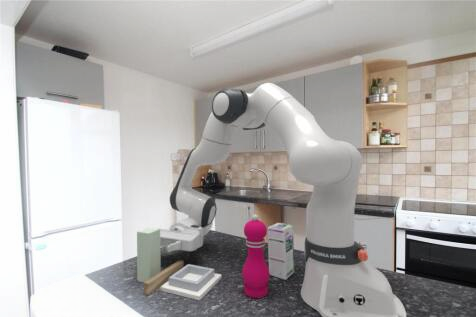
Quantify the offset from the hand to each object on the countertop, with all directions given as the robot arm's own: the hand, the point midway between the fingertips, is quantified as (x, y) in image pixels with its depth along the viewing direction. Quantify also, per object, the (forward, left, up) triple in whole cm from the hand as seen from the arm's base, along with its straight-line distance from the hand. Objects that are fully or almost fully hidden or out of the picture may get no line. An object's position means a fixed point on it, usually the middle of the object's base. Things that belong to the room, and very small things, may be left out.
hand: (153, 247), depth 72 cm
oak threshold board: (-6, +2, -8) cm, 10 cm away
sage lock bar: (0, +2, -9) cm, 9 cm away
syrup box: (-35, -15, -9) cm, 39 cm away
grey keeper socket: (-14, 0, -8) cm, 16 cm away
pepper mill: (-31, -3, -9) cm, 32 cm away
